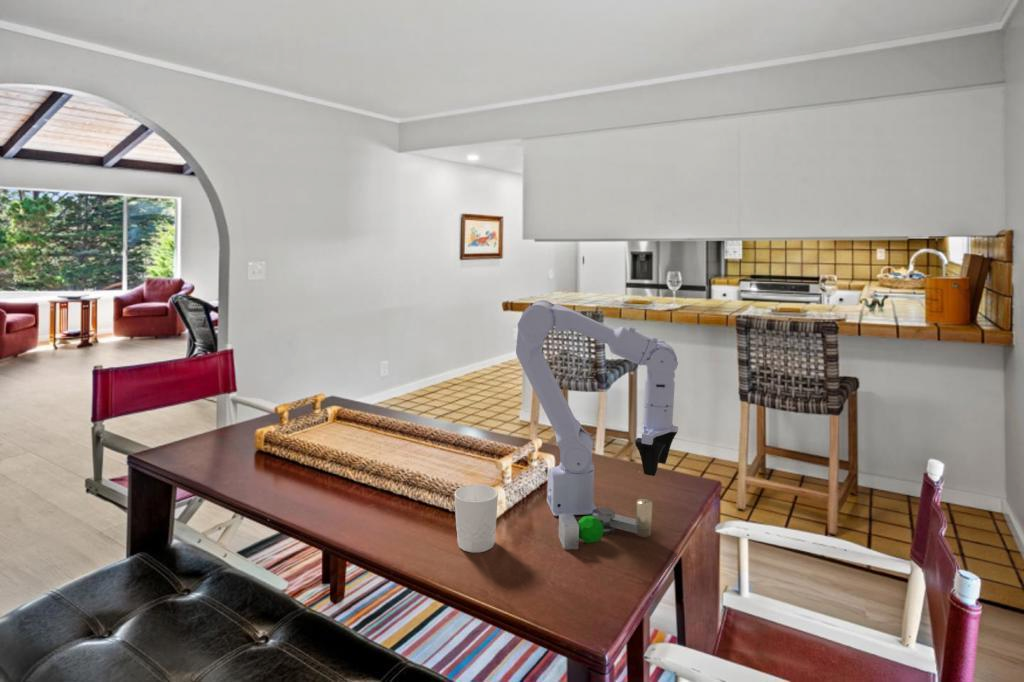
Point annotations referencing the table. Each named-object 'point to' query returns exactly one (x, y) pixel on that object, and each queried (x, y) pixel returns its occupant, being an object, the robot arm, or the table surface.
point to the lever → (625, 523)
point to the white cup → (476, 517)
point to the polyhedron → (590, 529)
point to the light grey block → (568, 531)
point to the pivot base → (608, 530)
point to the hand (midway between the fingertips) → (655, 468)
